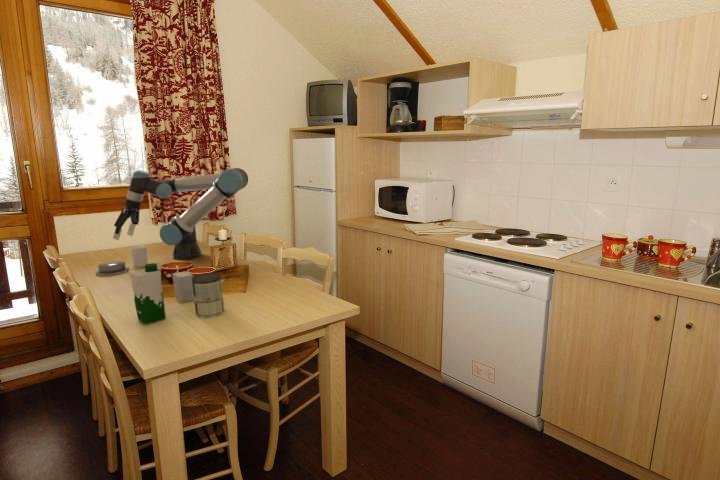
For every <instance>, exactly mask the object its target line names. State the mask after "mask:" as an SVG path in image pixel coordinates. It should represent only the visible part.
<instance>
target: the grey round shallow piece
mask: <svg viewBox="0 0 720 480" xmlns="http://www.w3.org/2000/svg"><path fill="white" fill-rule="evenodd" d="M97 268H98V270H97V271H95V276H99V277H108V276H117V275H121V274H124V273H127V272H128V270H130V267H128V266H126V262H125V260H124V261H123V260H113V261H107V262H102V263H100V264H98V265H97Z"/></svg>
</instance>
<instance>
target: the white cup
mask: <svg viewBox="0 0 720 480" xmlns="http://www.w3.org/2000/svg"><path fill="white" fill-rule="evenodd" d="M147 248H148V247H147V245H144V244H142V245H135V246H130V248H129V251H130V256H131V259H132V260H131V261H132V266H133V267H135V268H141V267H142V268H143V267H145V265H146V264H149V263H148V249H147Z"/></svg>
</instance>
